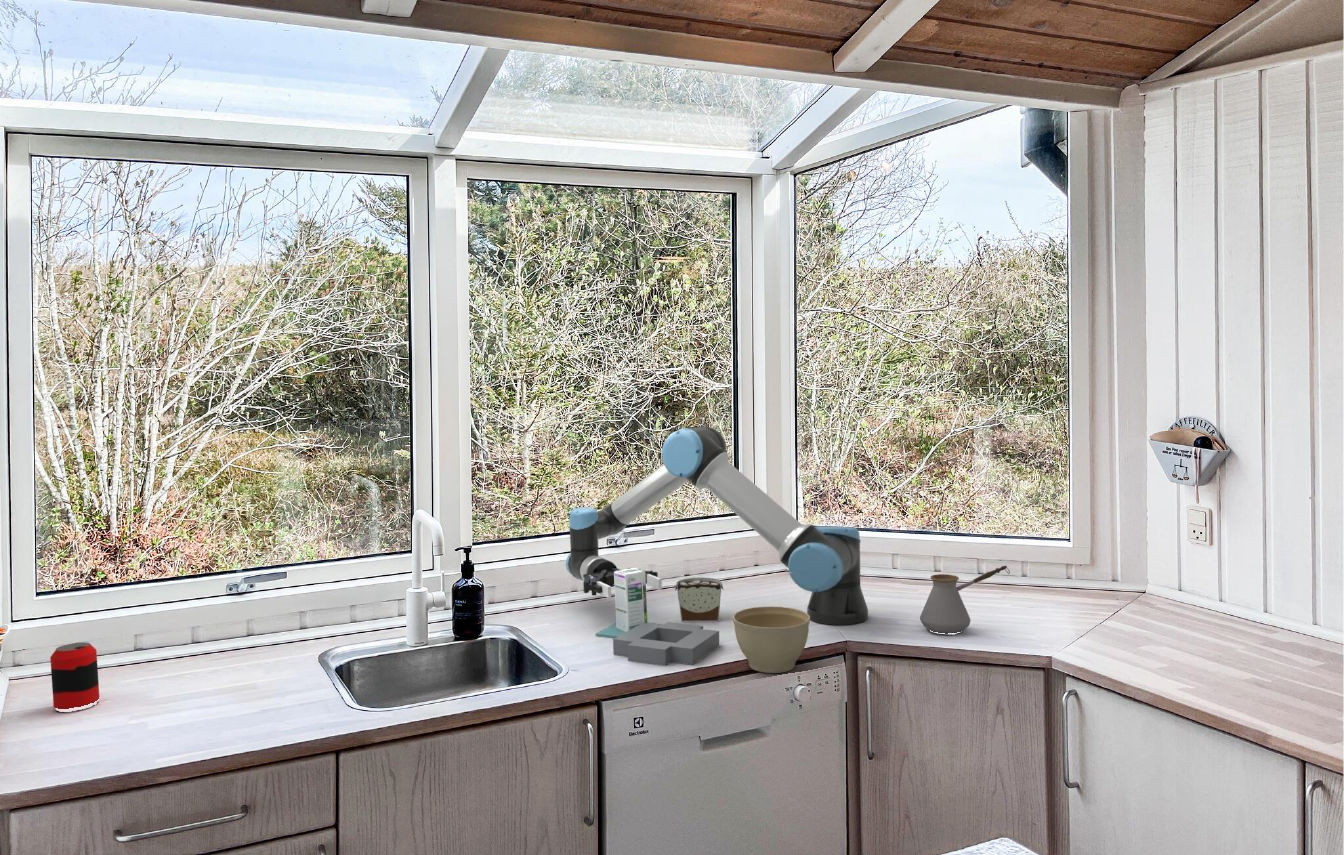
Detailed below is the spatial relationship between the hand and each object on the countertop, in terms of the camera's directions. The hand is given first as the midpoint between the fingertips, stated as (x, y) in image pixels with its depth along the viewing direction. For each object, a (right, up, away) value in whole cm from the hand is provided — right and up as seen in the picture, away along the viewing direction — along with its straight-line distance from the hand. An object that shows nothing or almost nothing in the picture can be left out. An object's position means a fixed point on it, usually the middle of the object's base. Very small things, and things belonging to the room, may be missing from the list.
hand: (635, 588), depth 214 cm
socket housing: (+8, -12, -13) cm, 19 cm away
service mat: (-1, -11, +3) cm, 11 cm away
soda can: (-109, -17, -38) cm, 117 cm away
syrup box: (-1, -11, +3) cm, 11 cm away
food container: (+16, -10, +13) cm, 23 cm away
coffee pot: (+78, -9, -4) cm, 79 cm away
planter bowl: (+30, -12, -26) cm, 42 cm away
